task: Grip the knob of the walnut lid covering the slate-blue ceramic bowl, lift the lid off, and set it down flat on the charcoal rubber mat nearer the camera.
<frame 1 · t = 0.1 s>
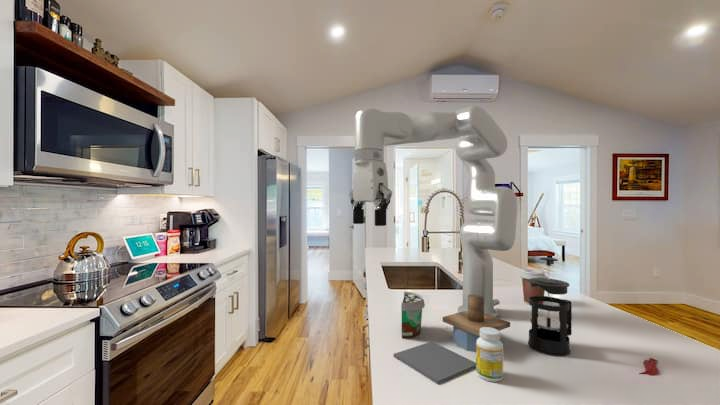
hand: (368, 224, 81), 31 cm above the countertop, fingers open, 9 cm apart
mat: (434, 361, 73), on the countertop
french press: (550, 348, 81), on the countertop
bowl: (475, 343, 83), on the countertop
coffee cup: (533, 303, 118), on the countertop
supplement bottle: (489, 376, 67), on the countertop
lid: (475, 324, 83), point 5 cm above the countertop, touching bowl
cayenne pepper: (650, 370, 71), on the countertop
food container: (413, 333, 90), on the countertop
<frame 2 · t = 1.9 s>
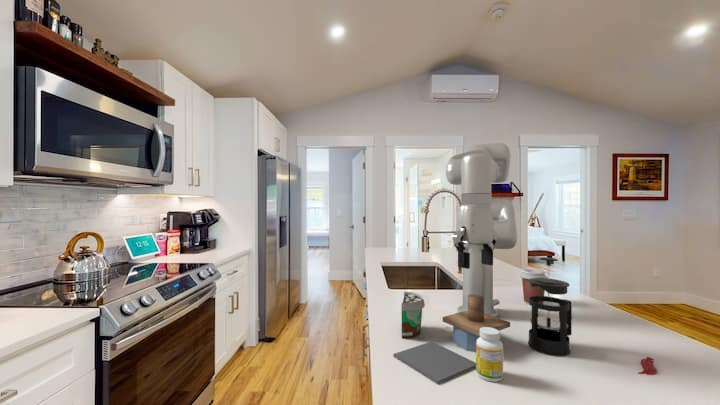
hand: (475, 266, 83), 20 cm above the countertop, fingers open, 9 cm apart
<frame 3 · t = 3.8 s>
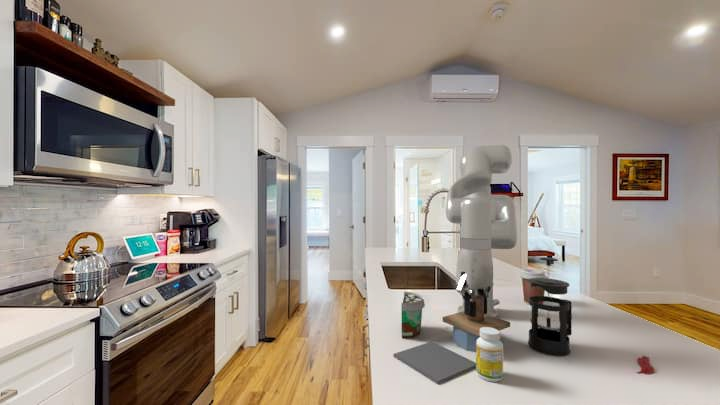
hand: (475, 313, 83), 8 cm above the countertop, fingers closed on lid, 4 cm apart
lid: (475, 324, 83), point 5 cm above the countertop, touching bowl, gripper
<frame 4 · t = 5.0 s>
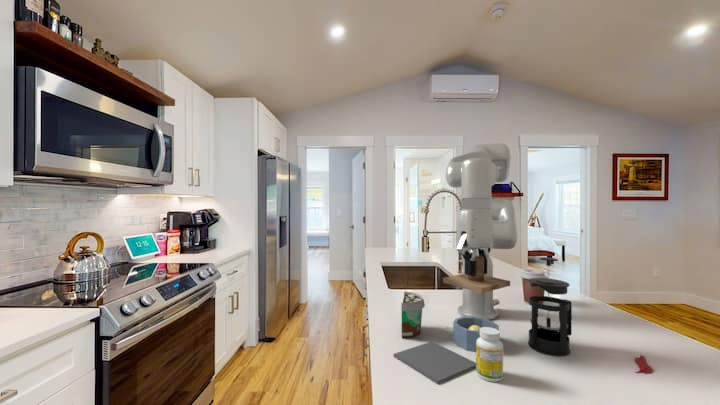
hand: (475, 273, 84), 18 cm above the countertop, fingers closed on lid, 4 cm apart
lid: (475, 284, 84), point 15 cm above the countertop, touching gripper
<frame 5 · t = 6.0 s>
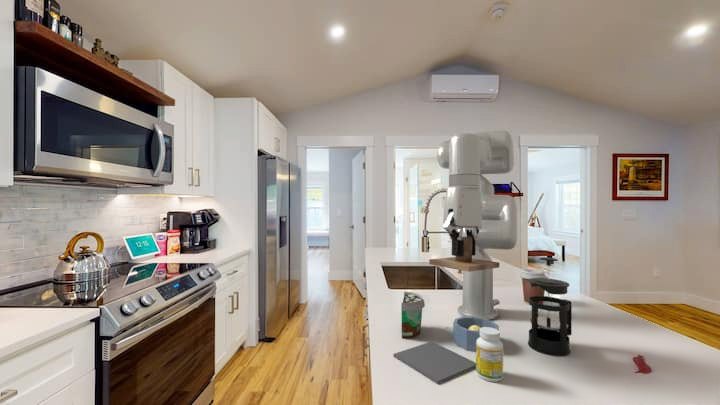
hand: (463, 254, 80), 24 cm above the countertop, fingers closed on lid, 4 cm apart
lid: (463, 265, 80), point 21 cm above the countertop, touching gripper
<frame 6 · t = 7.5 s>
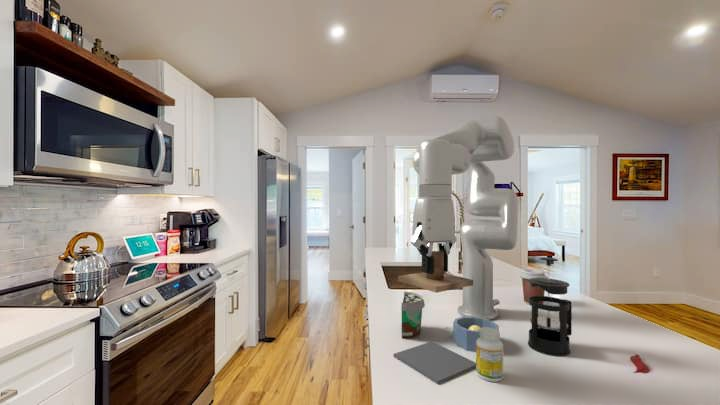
hand: (434, 271, 73), 21 cm above the countertop, fingers closed on lid, 4 cm apart
lid: (434, 283, 73), point 18 cm above the countertop, touching gripper
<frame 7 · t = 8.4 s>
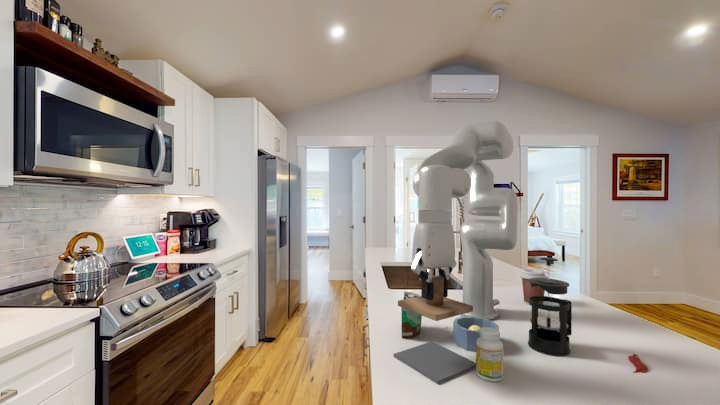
hand: (434, 296, 73), 15 cm above the countertop, fingers closed on lid, 4 cm apart
lid: (434, 308, 73), point 12 cm above the countertop, touching gripper
when the fingers open (5 cm above the countertop, at t = 10.6 s): lid drops 1 cm, resting on mat.
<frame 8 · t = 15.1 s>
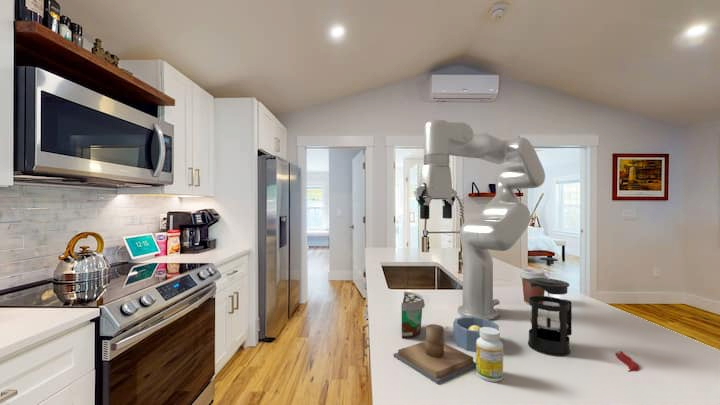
hand: (436, 218, 95), 32 cm above the countertop, fingers open, 9 cm apart
lid: (434, 358, 73), point 1 cm above the countertop, touching mat
cayenne pepper: (627, 364, 74), on the countertop
everything else where it was.
at the end: lid inside the target area on the mat (0.1 cm from its centre), point 0.6 cm above the mat's base; lid tilted 0°; the gripper is holding nothing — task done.
